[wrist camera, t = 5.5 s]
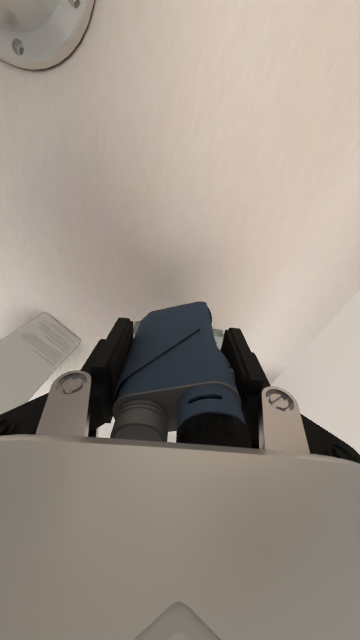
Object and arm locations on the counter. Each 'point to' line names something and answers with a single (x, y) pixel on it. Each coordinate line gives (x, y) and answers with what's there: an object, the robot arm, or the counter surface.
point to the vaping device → (178, 383)
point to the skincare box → (31, 358)
